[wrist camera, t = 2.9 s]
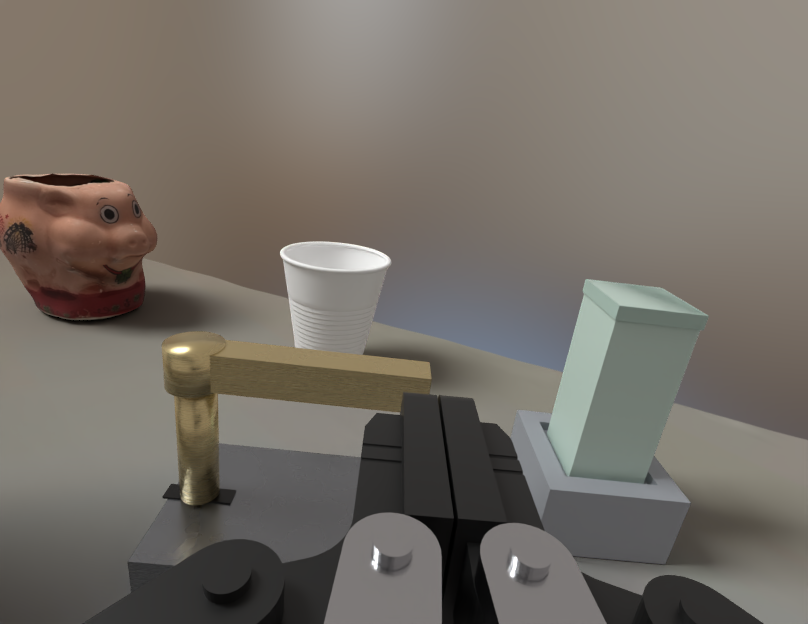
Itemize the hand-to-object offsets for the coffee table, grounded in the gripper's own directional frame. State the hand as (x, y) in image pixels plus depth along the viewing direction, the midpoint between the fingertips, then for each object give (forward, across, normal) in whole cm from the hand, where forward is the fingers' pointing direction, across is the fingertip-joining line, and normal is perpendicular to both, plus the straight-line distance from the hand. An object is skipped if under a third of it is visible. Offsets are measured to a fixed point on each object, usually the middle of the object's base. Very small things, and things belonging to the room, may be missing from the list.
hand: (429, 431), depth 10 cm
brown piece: (+12, +5, +13) cm, 19 cm away
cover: (+16, -13, +12) cm, 24 cm away
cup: (+33, +6, +16) cm, 37 cm away
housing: (+16, -13, +16) cm, 26 cm away
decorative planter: (+41, +35, +15) cm, 56 cm away
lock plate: (+12, +6, +16) cm, 21 cm away
